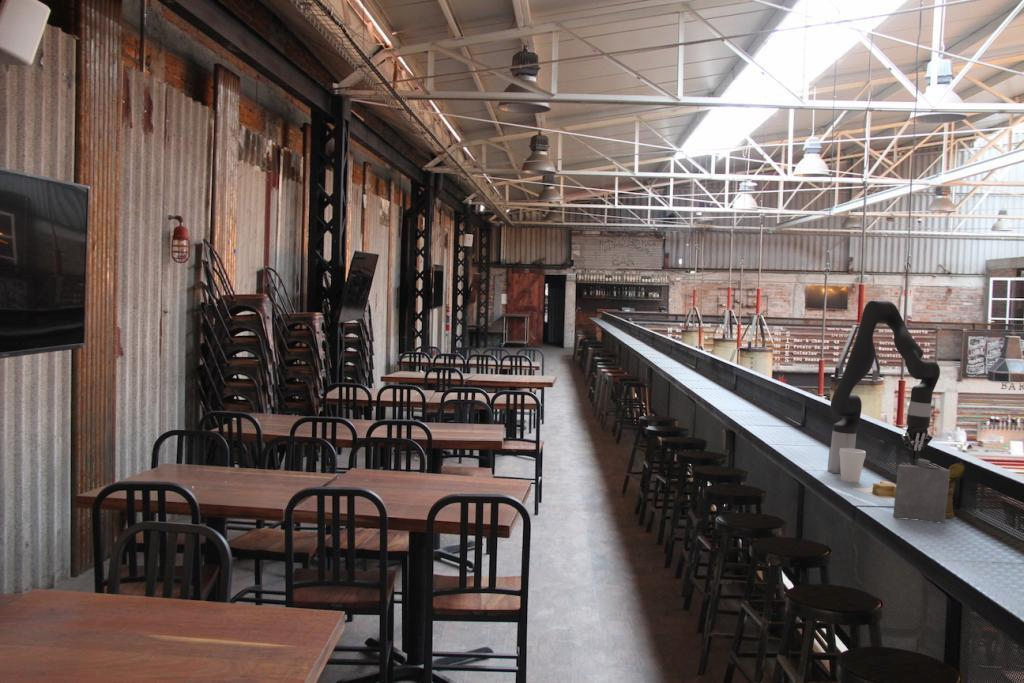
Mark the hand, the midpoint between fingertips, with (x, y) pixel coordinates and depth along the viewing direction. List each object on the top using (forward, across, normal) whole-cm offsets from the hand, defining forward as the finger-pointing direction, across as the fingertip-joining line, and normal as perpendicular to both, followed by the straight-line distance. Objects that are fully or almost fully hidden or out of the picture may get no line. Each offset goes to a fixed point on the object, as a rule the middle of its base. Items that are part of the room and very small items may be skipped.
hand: (913, 459), depth 296 cm
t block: (+13, +11, 0) cm, 17 cm away
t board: (+14, +10, 0) cm, 17 cm away
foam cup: (+15, +10, -20) cm, 27 cm away
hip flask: (+13, +22, +28) cm, 38 cm away
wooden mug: (+14, +7, +24) cm, 28 cm away
